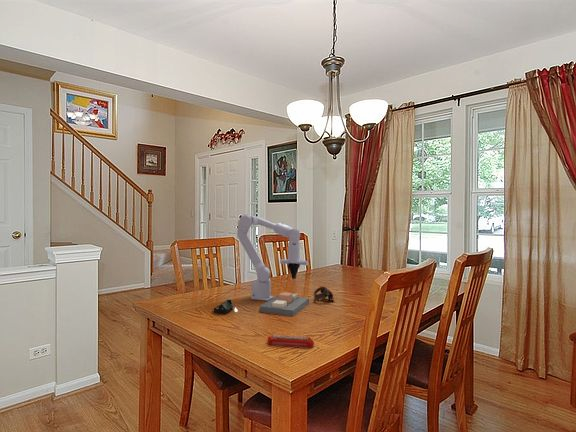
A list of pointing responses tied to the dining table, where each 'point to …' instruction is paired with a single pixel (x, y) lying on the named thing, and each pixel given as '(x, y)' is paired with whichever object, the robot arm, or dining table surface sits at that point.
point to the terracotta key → (285, 297)
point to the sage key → (294, 297)
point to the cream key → (279, 304)
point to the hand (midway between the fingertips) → (293, 278)
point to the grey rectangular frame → (288, 310)
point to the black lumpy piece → (224, 307)
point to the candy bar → (290, 341)
